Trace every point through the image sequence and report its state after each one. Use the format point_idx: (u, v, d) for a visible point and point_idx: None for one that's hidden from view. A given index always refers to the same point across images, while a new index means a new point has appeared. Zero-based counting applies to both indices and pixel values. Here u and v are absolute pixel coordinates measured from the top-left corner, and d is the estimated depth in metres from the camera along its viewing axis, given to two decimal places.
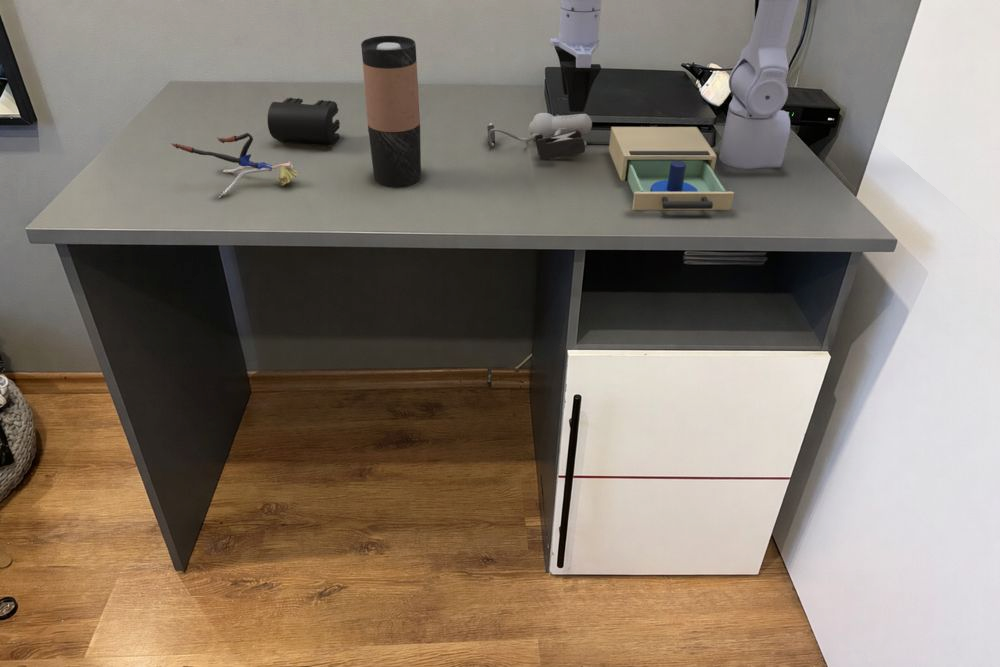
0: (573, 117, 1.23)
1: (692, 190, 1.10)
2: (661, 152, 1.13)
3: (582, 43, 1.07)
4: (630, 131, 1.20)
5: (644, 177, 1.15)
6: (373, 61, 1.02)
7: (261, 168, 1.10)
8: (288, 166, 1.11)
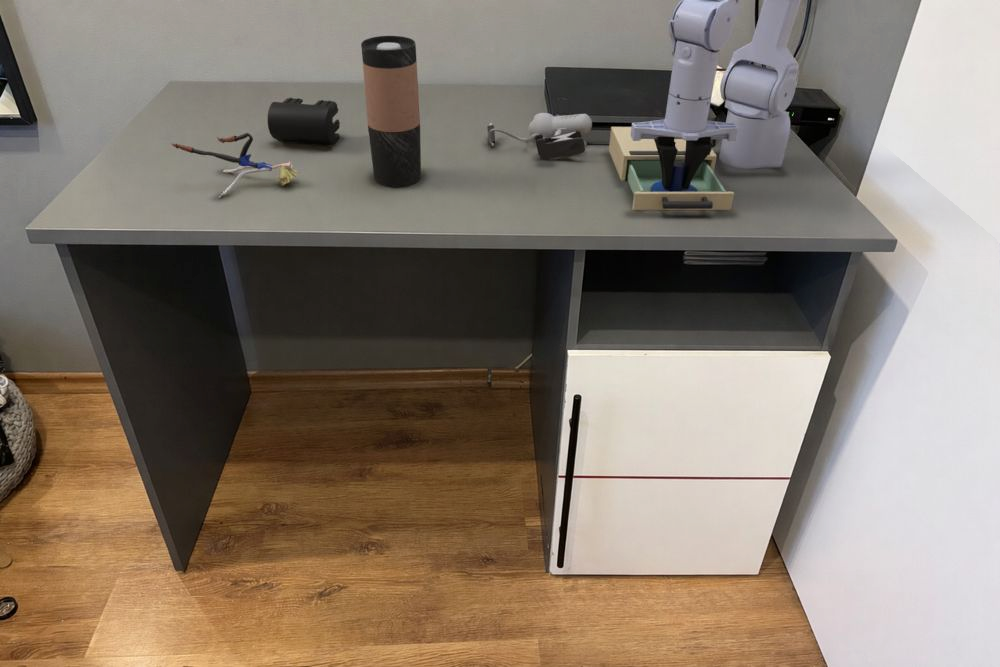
0: (573, 117, 1.23)
1: (692, 190, 1.10)
2: None
3: None
4: (630, 131, 1.20)
5: (644, 177, 1.15)
6: (373, 61, 1.02)
7: (261, 168, 1.10)
8: (288, 166, 1.11)
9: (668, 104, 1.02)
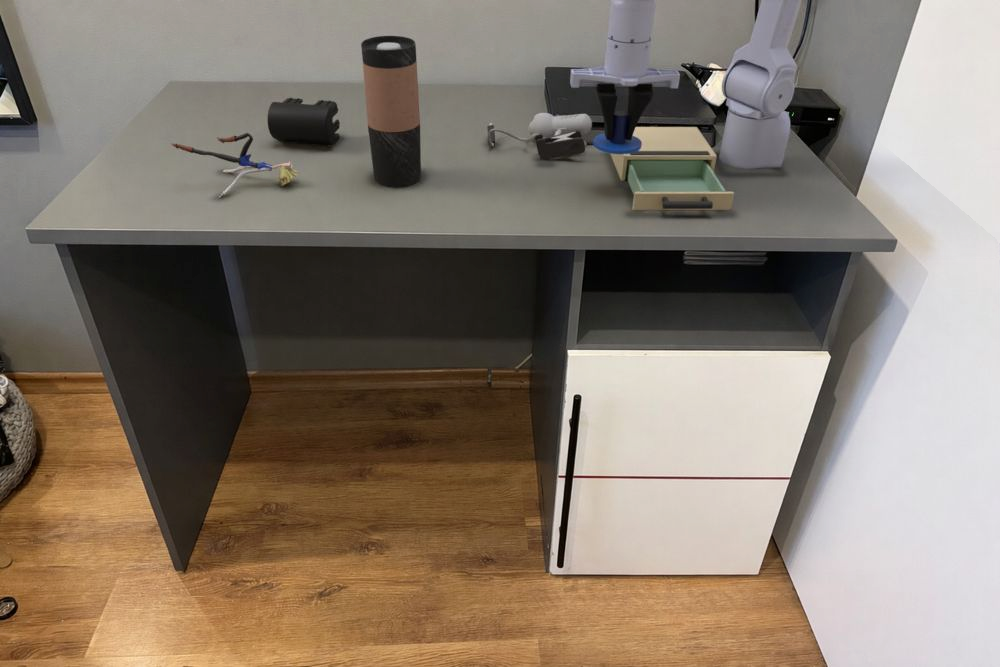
0: (573, 117, 1.23)
1: (636, 141, 1.07)
2: (661, 152, 1.13)
3: None
4: None
5: (644, 177, 1.15)
6: (373, 61, 1.02)
7: (261, 168, 1.10)
8: (288, 166, 1.11)
9: (607, 49, 0.99)
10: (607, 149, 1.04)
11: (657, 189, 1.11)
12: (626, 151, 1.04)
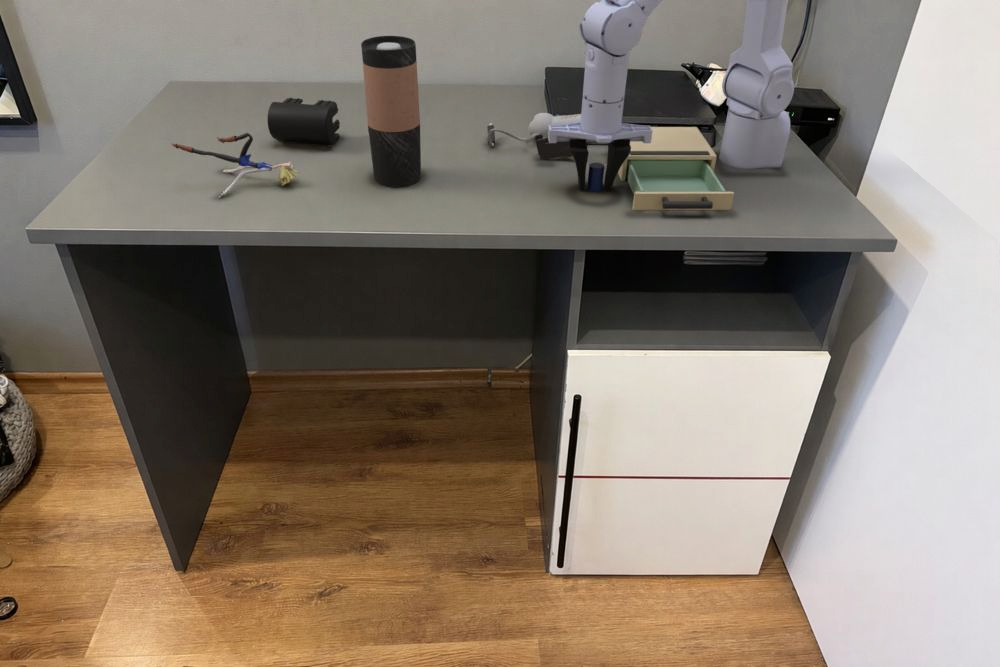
0: (573, 117, 1.23)
1: None
2: (661, 152, 1.13)
3: None
4: None
5: (644, 177, 1.15)
6: (373, 61, 1.02)
7: (261, 168, 1.10)
8: (288, 166, 1.11)
9: (582, 107, 1.04)
10: None
11: (657, 189, 1.11)
12: None
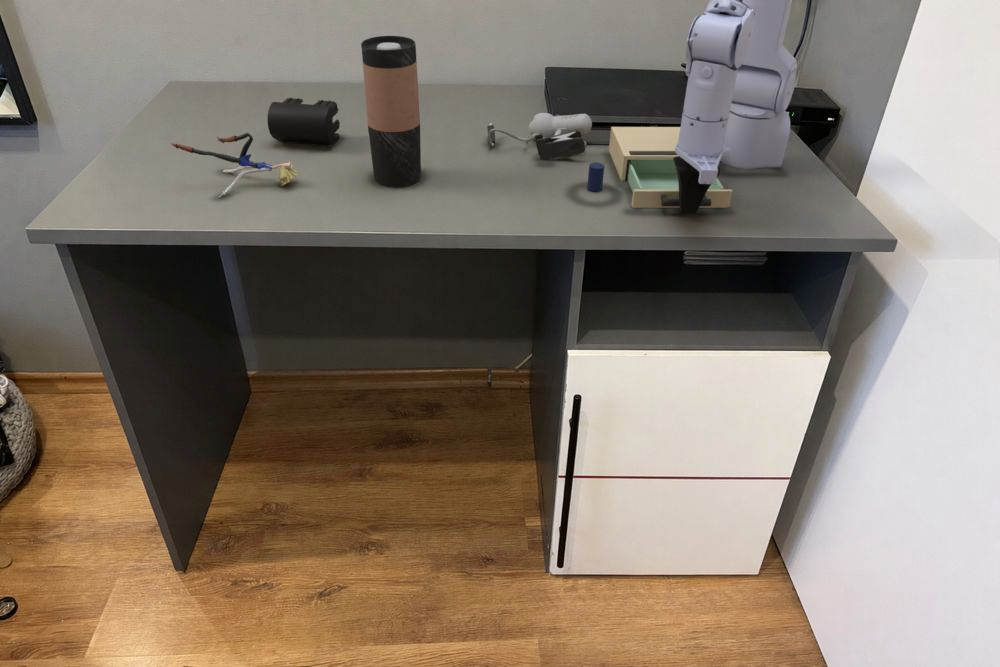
0: (573, 117, 1.23)
1: None
2: (661, 152, 1.13)
3: None
4: (630, 131, 1.20)
5: (643, 175, 1.16)
6: (373, 61, 1.02)
7: (261, 168, 1.10)
8: (288, 166, 1.11)
9: (709, 133, 0.94)
10: None
11: (656, 187, 1.12)
12: None
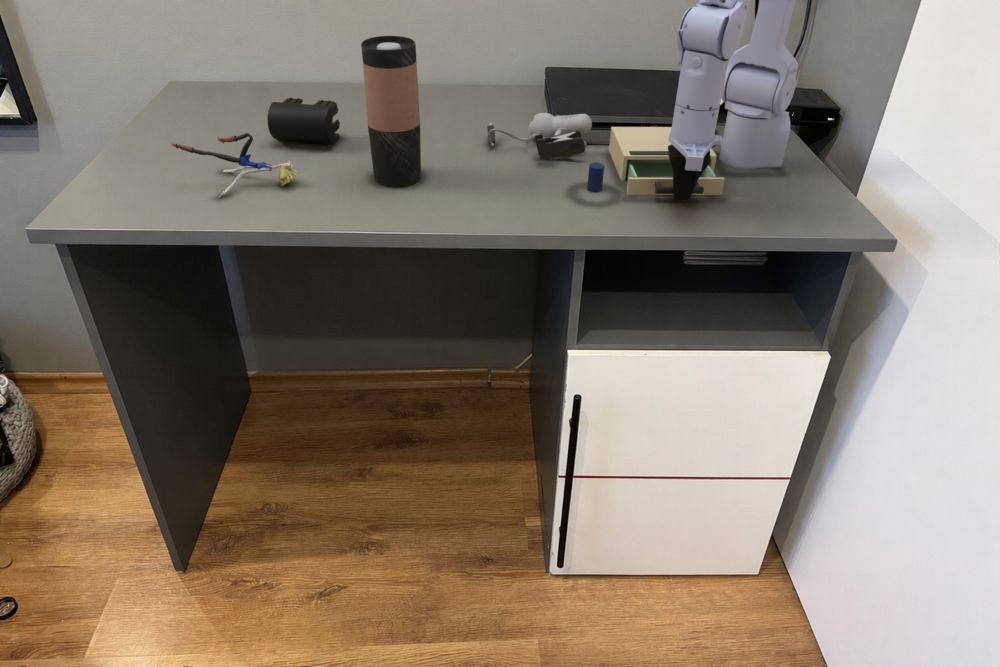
0: (573, 117, 1.23)
1: None
2: (661, 152, 1.13)
3: None
4: (630, 131, 1.20)
5: (638, 164, 1.19)
6: (373, 61, 1.02)
7: (261, 168, 1.10)
8: (288, 166, 1.11)
9: (699, 121, 0.97)
10: None
11: (651, 176, 1.15)
12: None
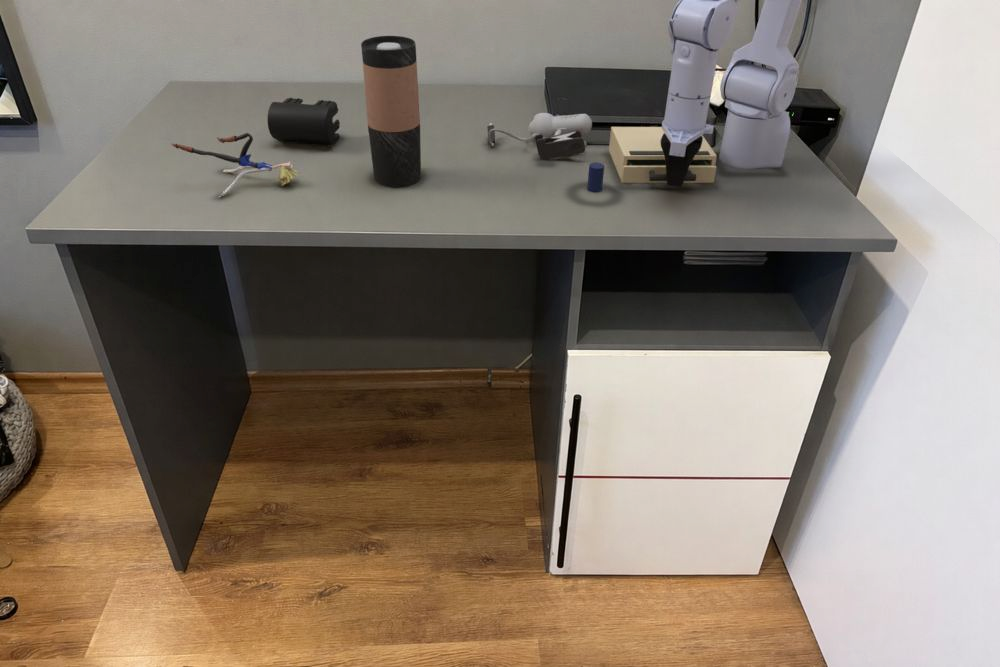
0: (573, 117, 1.23)
1: None
2: (661, 152, 1.13)
3: None
4: (630, 131, 1.20)
5: None
6: (373, 61, 1.02)
7: (261, 168, 1.10)
8: (288, 166, 1.11)
9: (687, 109, 1.01)
10: None
11: (645, 165, 1.19)
12: None
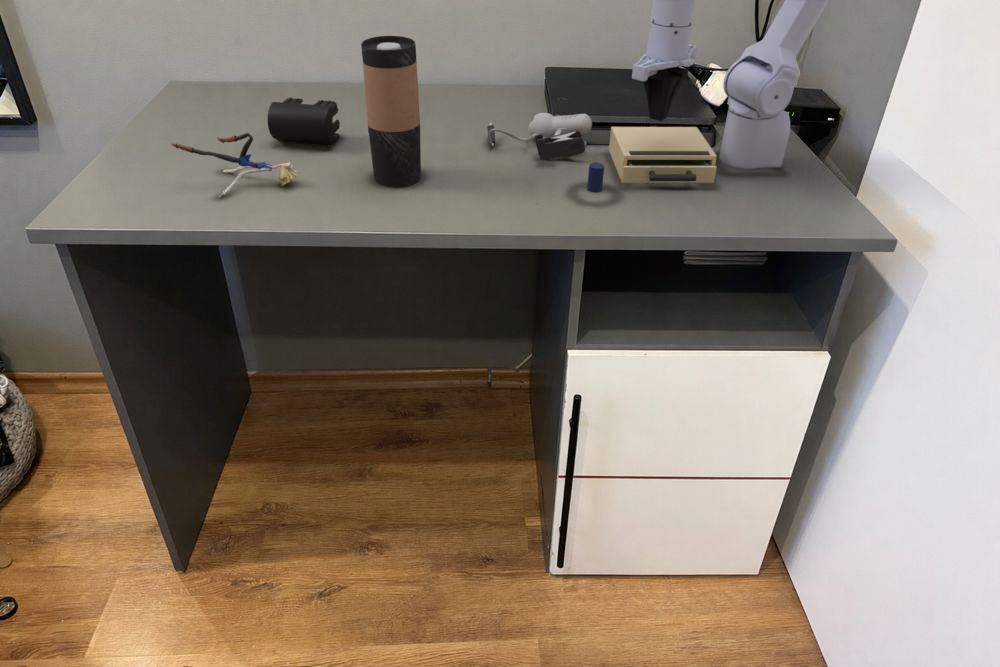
0: (573, 117, 1.23)
1: None
2: (661, 152, 1.13)
3: None
4: (630, 131, 1.20)
5: None
6: (373, 61, 1.02)
7: (261, 168, 1.10)
8: (288, 166, 1.11)
9: (660, 37, 1.03)
10: None
11: (646, 165, 1.19)
12: None
